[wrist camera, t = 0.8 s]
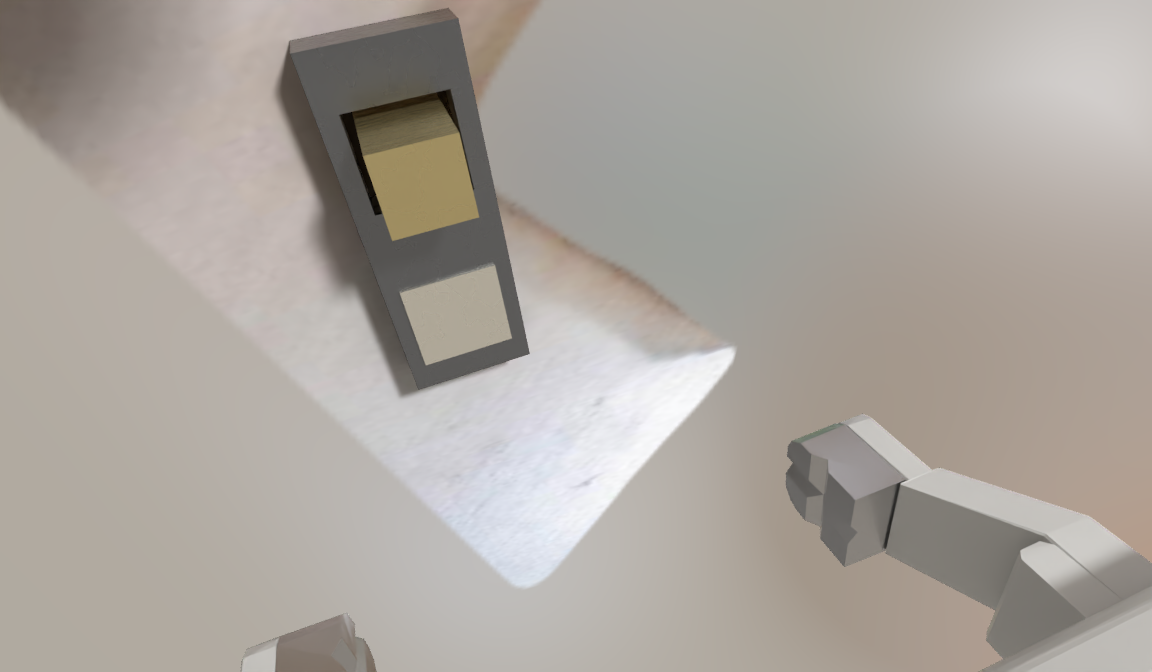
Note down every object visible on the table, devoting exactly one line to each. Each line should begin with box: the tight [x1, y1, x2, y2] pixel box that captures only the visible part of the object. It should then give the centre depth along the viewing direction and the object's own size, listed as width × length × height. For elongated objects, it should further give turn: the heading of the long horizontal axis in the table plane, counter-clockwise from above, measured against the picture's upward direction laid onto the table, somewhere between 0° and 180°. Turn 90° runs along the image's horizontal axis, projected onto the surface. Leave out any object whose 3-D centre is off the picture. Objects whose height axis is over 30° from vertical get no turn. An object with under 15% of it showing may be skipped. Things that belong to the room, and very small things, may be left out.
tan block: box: [352, 92, 479, 241], centre depth 33 cm, size 4×4×7 cm
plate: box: [290, 8, 530, 389], centre depth 38 cm, size 22×8×3 cm, turn 7°
